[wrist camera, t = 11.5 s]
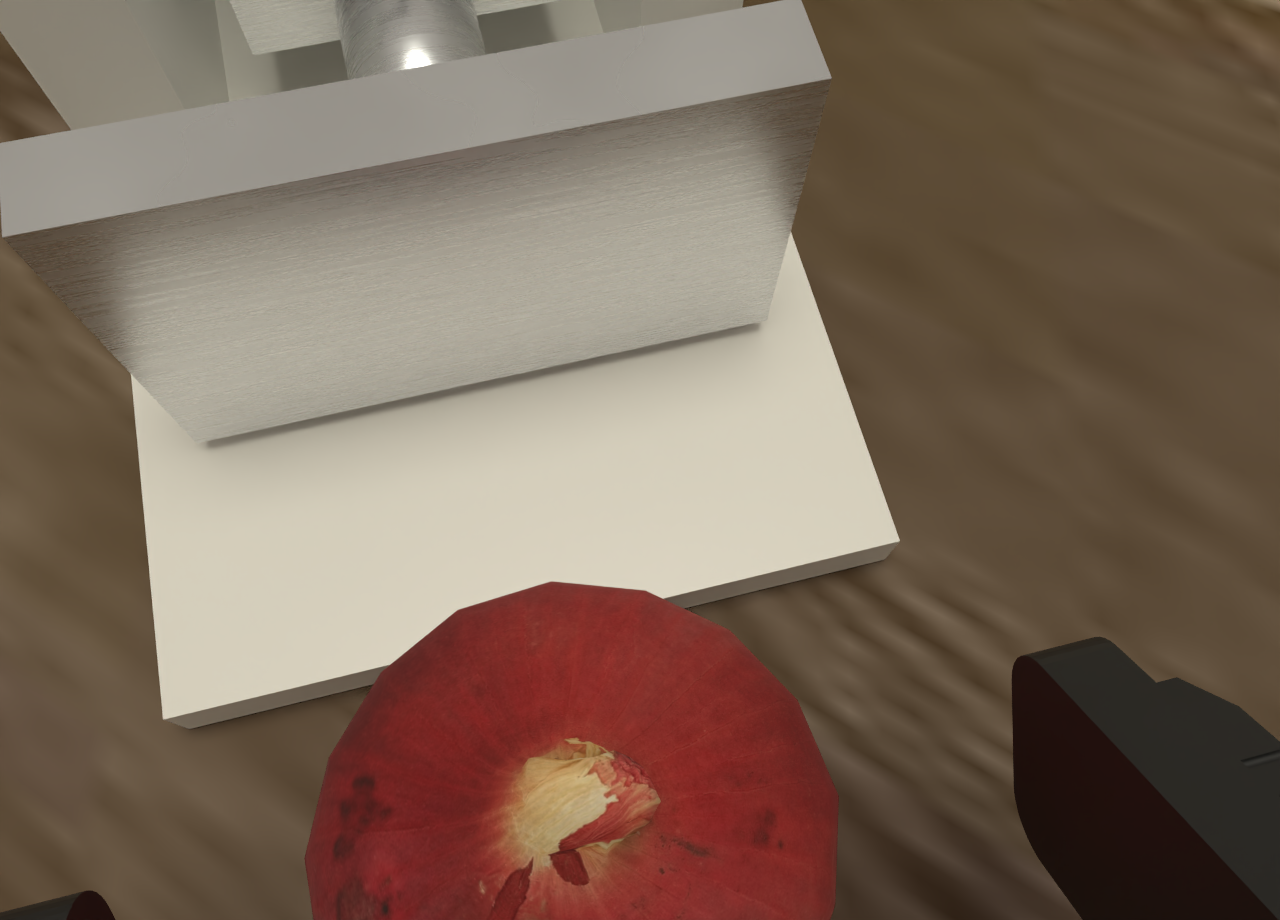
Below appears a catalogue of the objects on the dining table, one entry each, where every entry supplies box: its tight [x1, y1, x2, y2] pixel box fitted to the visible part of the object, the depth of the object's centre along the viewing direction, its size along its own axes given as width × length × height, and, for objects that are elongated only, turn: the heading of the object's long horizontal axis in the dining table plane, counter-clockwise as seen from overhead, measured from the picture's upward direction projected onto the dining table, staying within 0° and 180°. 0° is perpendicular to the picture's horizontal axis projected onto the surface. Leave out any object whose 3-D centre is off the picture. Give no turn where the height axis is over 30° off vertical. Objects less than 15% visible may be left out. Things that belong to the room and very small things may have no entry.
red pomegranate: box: [305, 581, 839, 920], centre depth 12 cm, size 6×6×8 cm
